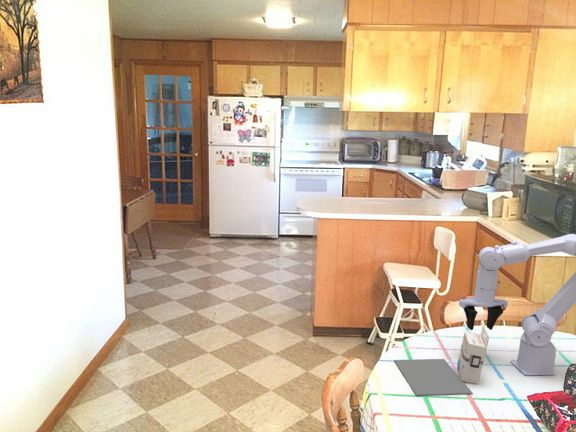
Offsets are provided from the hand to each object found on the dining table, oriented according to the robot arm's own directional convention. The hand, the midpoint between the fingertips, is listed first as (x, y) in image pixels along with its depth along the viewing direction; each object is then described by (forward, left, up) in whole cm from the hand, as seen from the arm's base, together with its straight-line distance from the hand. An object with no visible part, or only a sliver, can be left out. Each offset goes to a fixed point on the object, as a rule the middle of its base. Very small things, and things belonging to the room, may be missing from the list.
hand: (479, 328), depth 143 cm
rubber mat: (+18, +9, -10) cm, 23 cm away
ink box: (+7, +9, -10) cm, 16 cm away
